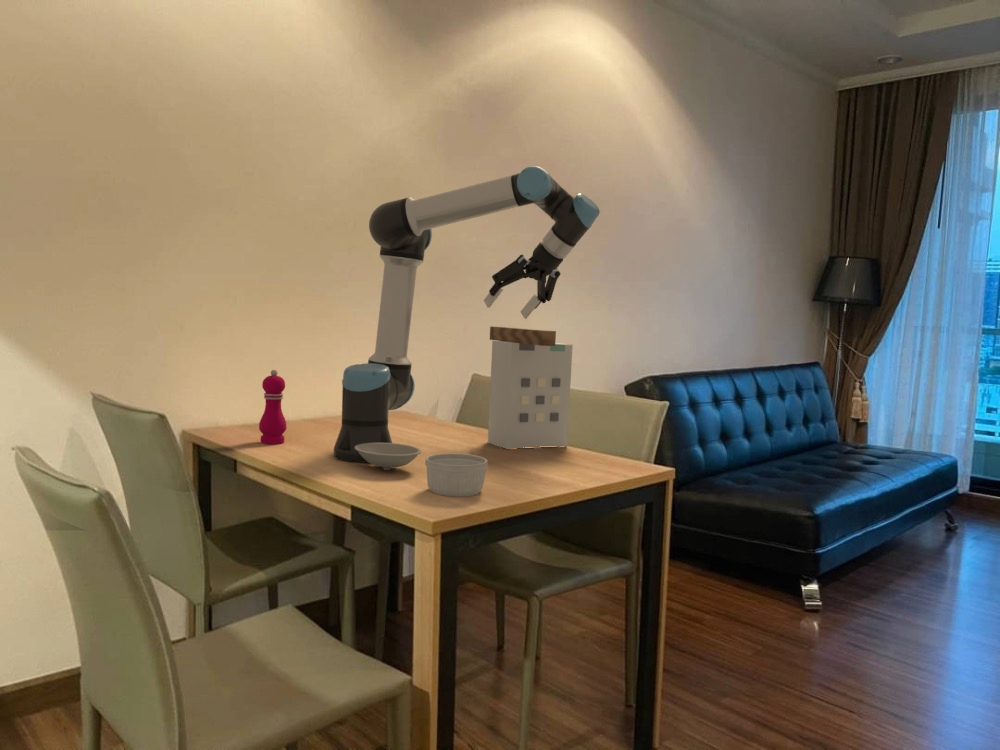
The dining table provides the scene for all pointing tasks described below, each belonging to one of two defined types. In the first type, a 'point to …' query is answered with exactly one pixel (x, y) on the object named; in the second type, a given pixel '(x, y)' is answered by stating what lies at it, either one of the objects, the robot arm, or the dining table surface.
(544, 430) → the tall patterned block
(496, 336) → the walnut rod
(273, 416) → the pepper mill
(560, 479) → the dining table surface
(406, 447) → the dish
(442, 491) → the ramekin
